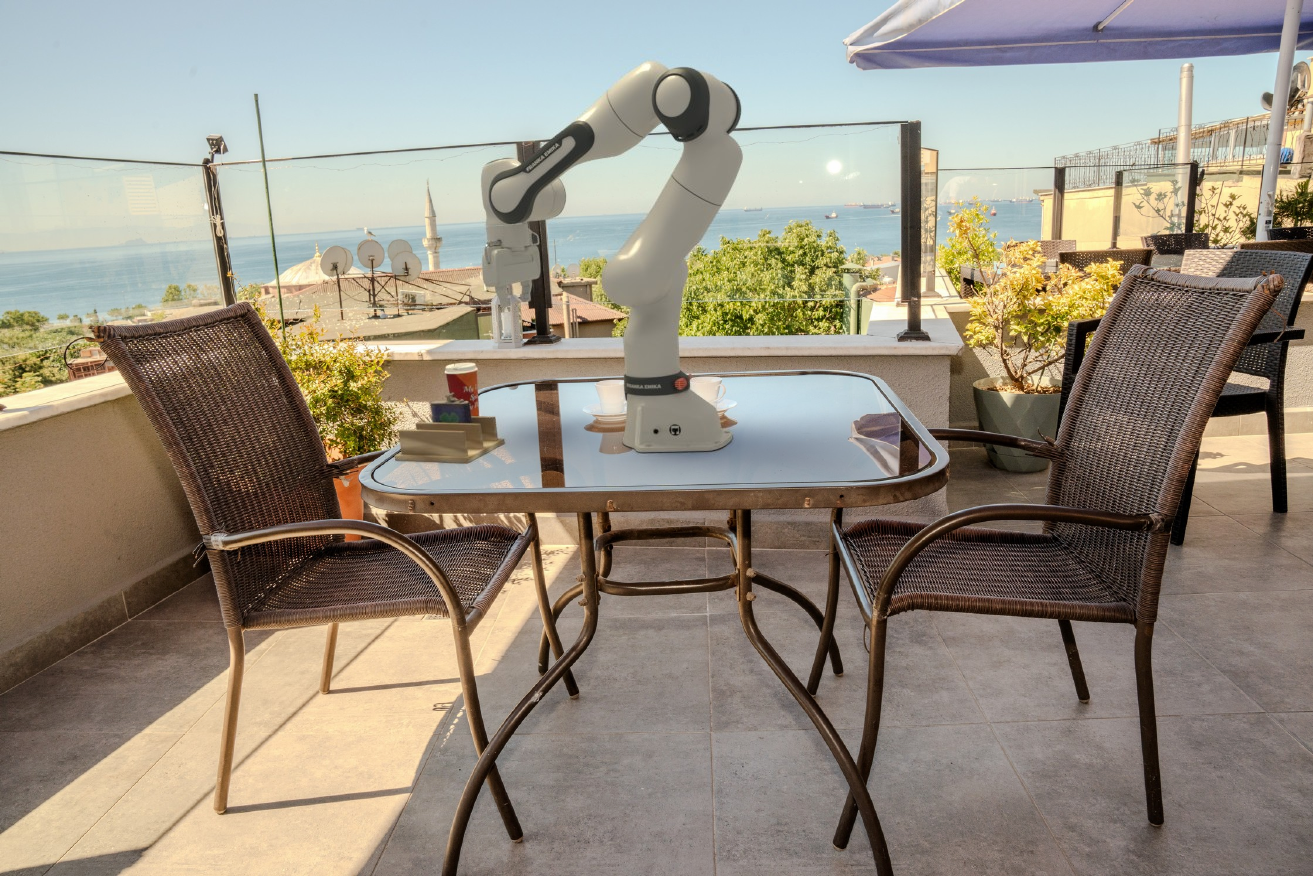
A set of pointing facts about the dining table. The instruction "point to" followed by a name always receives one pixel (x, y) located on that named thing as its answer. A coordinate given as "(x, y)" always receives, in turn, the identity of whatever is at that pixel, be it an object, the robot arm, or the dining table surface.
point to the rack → (449, 441)
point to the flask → (451, 411)
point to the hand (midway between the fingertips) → (516, 304)
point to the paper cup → (464, 384)
